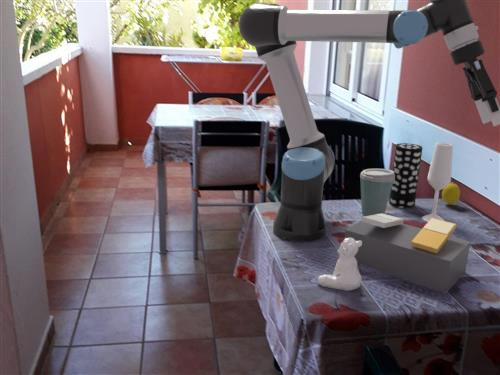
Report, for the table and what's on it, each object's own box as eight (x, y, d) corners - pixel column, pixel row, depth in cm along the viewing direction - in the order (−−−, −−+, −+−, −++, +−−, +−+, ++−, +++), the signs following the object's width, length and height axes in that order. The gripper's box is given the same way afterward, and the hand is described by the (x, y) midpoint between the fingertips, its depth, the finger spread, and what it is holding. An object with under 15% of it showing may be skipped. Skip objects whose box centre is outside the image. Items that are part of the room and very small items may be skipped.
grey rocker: (381, 218, 131) (382, 213, 131) (402, 223, 127) (404, 218, 127) (361, 221, 122) (362, 216, 121) (384, 227, 118) (385, 222, 118)
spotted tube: (414, 201, 169) (422, 144, 163) (414, 209, 162) (422, 150, 155) (389, 198, 172) (396, 142, 165) (388, 206, 164) (395, 147, 158)
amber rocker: (431, 221, 122) (431, 217, 122) (456, 228, 119) (456, 223, 118) (411, 245, 115) (411, 240, 114) (437, 253, 111) (437, 248, 110)
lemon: (437, 202, 169) (441, 180, 167) (453, 202, 170) (456, 179, 167) (445, 207, 164) (448, 185, 162) (461, 207, 165) (464, 184, 162)
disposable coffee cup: (350, 217, 154) (355, 171, 149) (362, 207, 162) (366, 163, 158) (384, 225, 148) (389, 177, 144) (394, 214, 157) (400, 169, 152)
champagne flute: (449, 221, 152) (461, 145, 145) (432, 224, 150) (443, 147, 142) (433, 214, 158) (444, 140, 151) (417, 216, 156) (427, 142, 148)
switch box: (368, 241, 137) (371, 214, 134) (465, 271, 121) (470, 241, 118) (342, 258, 126) (345, 229, 124) (445, 293, 111) (450, 261, 108)
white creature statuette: (340, 271, 120) (345, 225, 116) (371, 285, 114) (376, 237, 110) (315, 284, 114) (319, 236, 110) (345, 299, 108) (350, 248, 104)
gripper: (489, 32, 113) (521, 119, 114) (471, 44, 137) (498, 115, 138) (456, 46, 115) (488, 131, 117) (444, 55, 139) (470, 126, 140)
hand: (493, 123), depth 127 cm, fingers open, 13 cm apart
